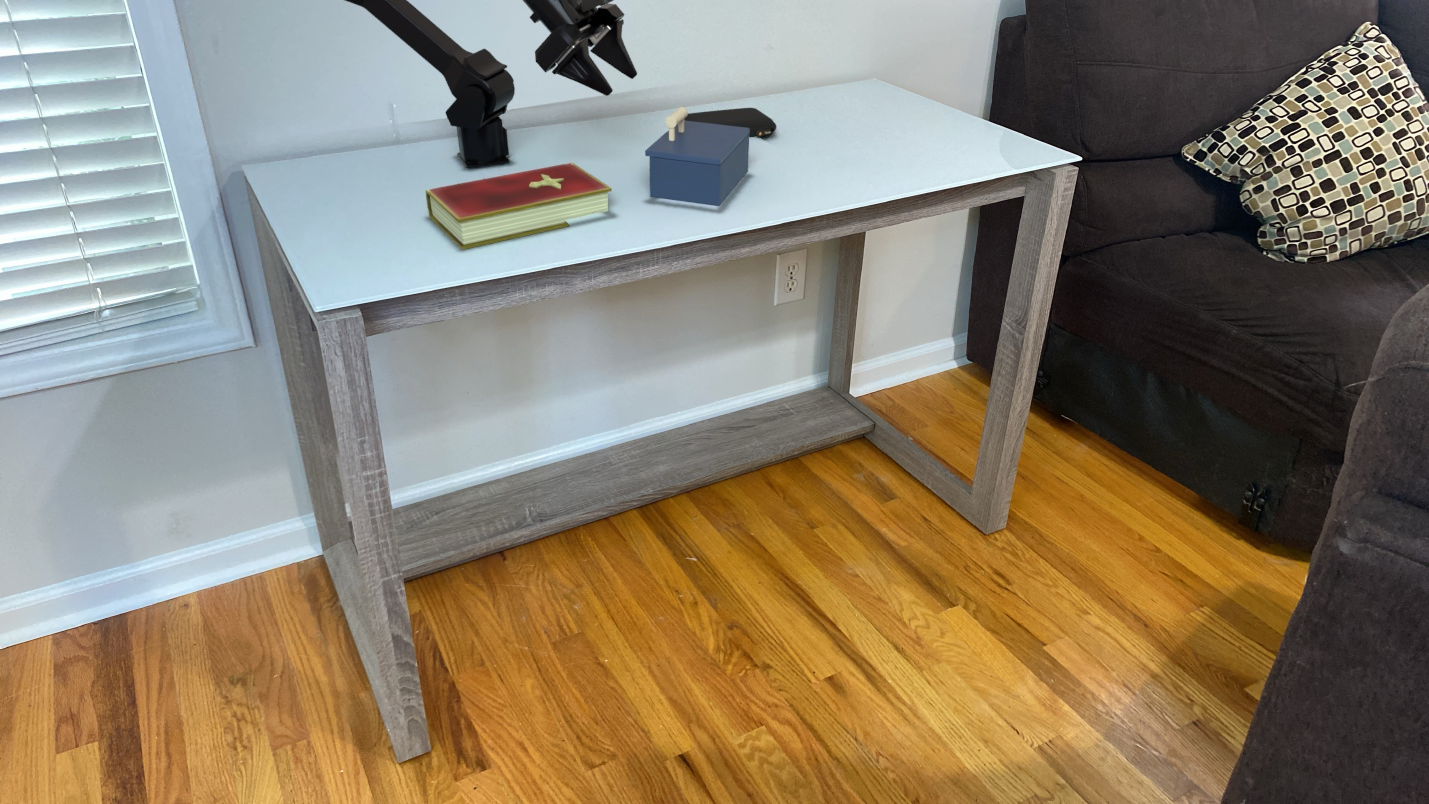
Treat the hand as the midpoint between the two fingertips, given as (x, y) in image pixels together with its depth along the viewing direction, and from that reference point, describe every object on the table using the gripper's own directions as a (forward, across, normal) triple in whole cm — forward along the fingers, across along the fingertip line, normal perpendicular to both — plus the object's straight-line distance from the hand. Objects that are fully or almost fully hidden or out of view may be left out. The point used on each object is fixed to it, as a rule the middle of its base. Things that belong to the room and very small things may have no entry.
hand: (623, 84), depth 134 cm
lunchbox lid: (+13, 0, -3) cm, 13 cm away
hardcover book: (+4, -18, +15) cm, 24 cm away
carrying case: (+16, +25, +4) cm, 29 cm away
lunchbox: (+18, 0, +1) cm, 18 cm away
